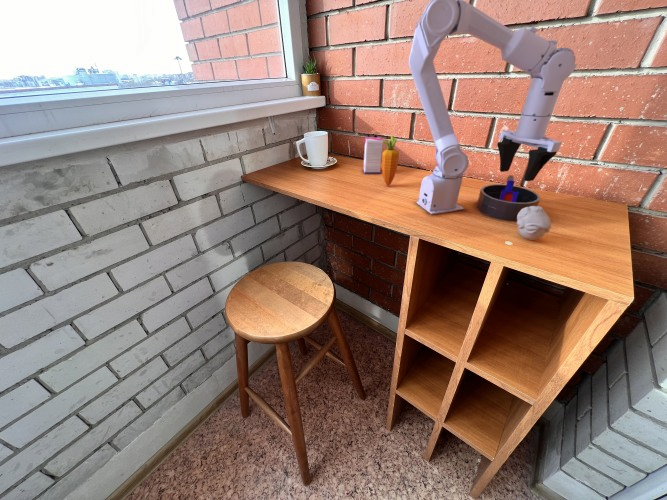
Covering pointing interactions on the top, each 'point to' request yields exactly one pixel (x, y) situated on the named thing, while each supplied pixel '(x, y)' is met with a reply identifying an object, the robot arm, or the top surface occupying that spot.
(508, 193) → the small bottle
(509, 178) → the pot handle
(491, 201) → the pot
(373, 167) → the supplement box
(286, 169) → the top surface
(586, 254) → the top surface
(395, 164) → the carrot
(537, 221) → the frog figurine
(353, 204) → the top surface
